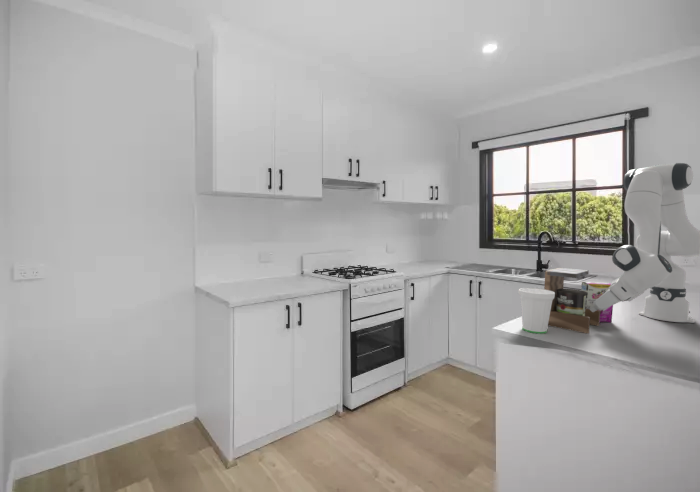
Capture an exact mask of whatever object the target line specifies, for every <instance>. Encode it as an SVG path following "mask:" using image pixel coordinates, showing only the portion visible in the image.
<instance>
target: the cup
mask: <svg viewBox="0 0 700 492" xmlns="http://www.w3.org/2000/svg"><path fill="white" fill-rule="evenodd" d="M518 295H519V297H520V307H521V320H522V321H521V322H522V330H523V331H524V332H528V333H532V334H546V333H547V331H548V327H549V326H548V321H549V316H550V311H551V305H552V300H553V299H554V298H555V292H553V291H549V290H544V289H543V288H534V287H521V288H519V289H518Z"/></svg>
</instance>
